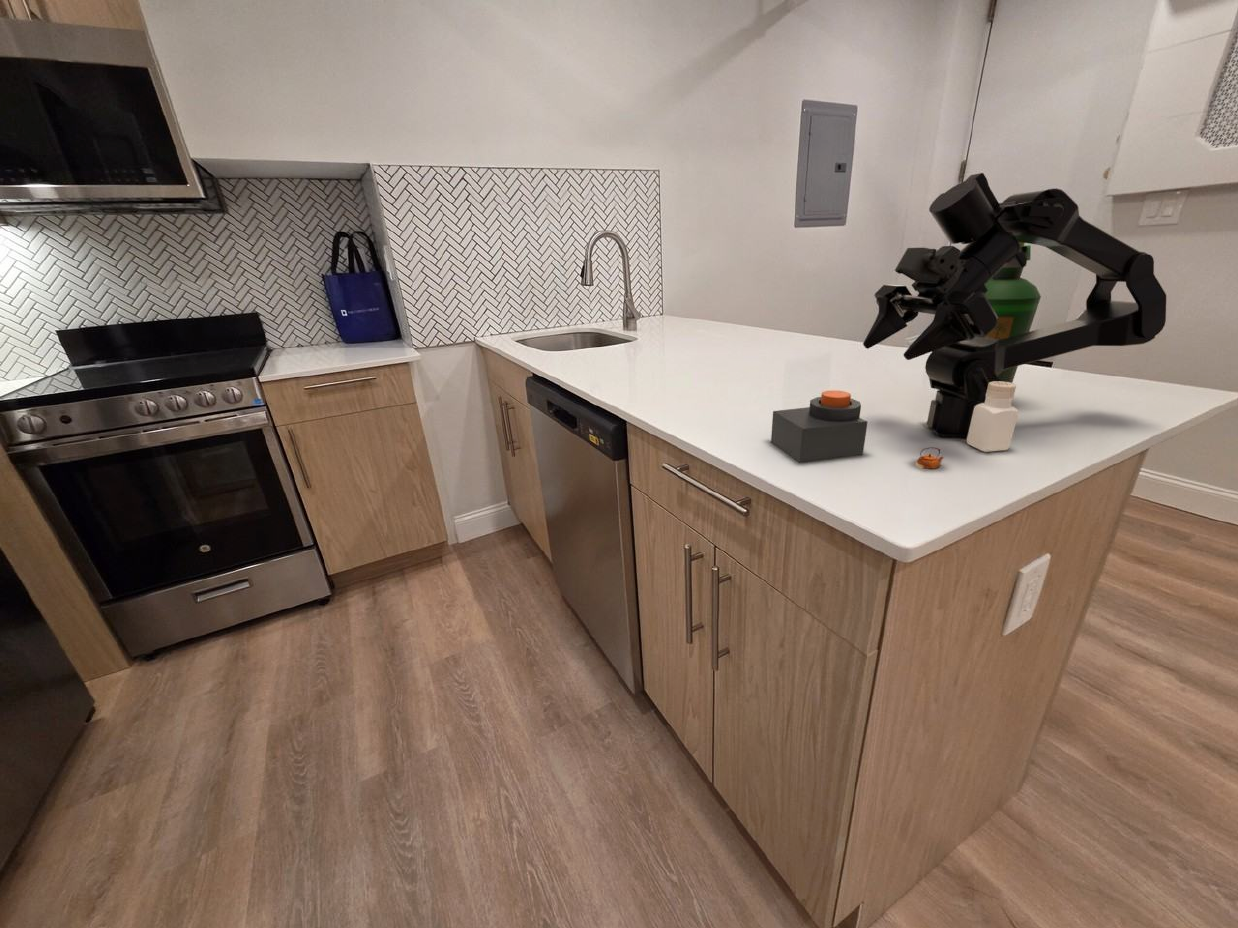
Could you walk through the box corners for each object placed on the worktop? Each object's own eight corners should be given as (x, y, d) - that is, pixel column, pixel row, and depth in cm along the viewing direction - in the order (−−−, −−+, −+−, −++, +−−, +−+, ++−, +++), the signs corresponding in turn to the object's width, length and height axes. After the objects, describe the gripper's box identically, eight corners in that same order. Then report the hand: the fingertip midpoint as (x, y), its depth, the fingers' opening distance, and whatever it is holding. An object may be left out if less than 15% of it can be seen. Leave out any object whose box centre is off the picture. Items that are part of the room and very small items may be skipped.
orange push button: (839, 400, 77) (840, 389, 76) (855, 407, 73) (856, 395, 72) (815, 403, 76) (816, 391, 75) (830, 410, 72) (831, 398, 72)
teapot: (918, 460, 71) (921, 442, 70) (942, 464, 69) (946, 446, 68) (913, 467, 69) (916, 449, 68) (938, 471, 67) (942, 453, 66)
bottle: (932, 395, 99) (963, 239, 88) (992, 394, 97) (1031, 236, 86) (958, 411, 89) (997, 238, 78) (1025, 410, 88) (1073, 234, 77)
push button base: (833, 434, 82) (838, 392, 79) (868, 454, 73) (875, 408, 71) (770, 442, 80) (773, 399, 77) (799, 463, 72) (803, 416, 69)
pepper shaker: (1010, 451, 72) (1028, 386, 68) (983, 453, 72) (999, 388, 68) (989, 441, 76) (1004, 379, 72) (963, 443, 75) (978, 381, 72)
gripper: (897, 228, 76) (819, 306, 79) (1003, 220, 59) (899, 320, 62) (932, 282, 80) (857, 354, 83) (1040, 289, 63) (941, 380, 66)
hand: (884, 351), depth 73 cm, fingers open, 9 cm apart
